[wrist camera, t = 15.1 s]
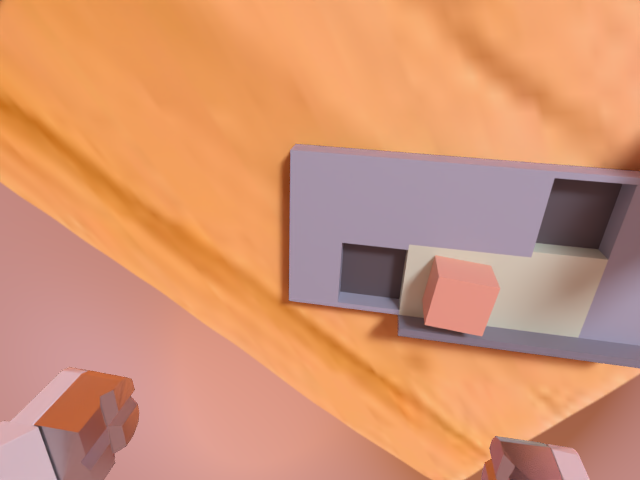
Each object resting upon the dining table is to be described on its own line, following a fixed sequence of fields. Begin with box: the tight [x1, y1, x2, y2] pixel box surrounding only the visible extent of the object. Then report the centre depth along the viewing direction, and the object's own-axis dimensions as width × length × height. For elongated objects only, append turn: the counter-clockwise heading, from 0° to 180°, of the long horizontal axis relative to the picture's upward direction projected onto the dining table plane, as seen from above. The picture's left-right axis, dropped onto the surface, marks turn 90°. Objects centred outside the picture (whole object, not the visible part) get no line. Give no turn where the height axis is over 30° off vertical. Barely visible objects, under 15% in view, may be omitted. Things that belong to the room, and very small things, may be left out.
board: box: [289, 144, 640, 368], centre depth 34 cm, size 30×15×4 cm, turn 87°
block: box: [422, 255, 500, 336], centre depth 34 cm, size 4×4×4 cm
